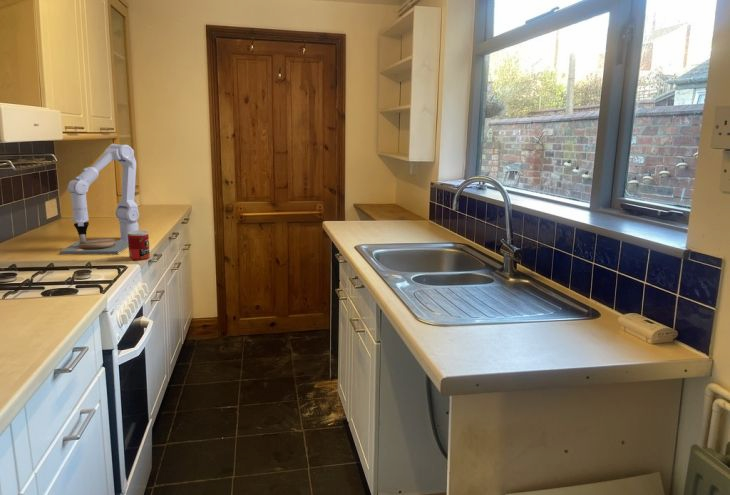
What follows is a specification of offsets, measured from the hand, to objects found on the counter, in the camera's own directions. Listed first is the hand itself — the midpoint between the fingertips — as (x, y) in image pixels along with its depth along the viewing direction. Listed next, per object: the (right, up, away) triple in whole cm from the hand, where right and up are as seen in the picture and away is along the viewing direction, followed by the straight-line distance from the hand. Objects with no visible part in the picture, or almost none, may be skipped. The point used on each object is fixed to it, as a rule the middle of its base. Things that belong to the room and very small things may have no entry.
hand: (83, 239), depth 238 cm
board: (+6, -4, +2) cm, 7 cm away
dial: (+6, -3, +2) cm, 6 cm away
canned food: (+29, -8, -10) cm, 32 cm away
